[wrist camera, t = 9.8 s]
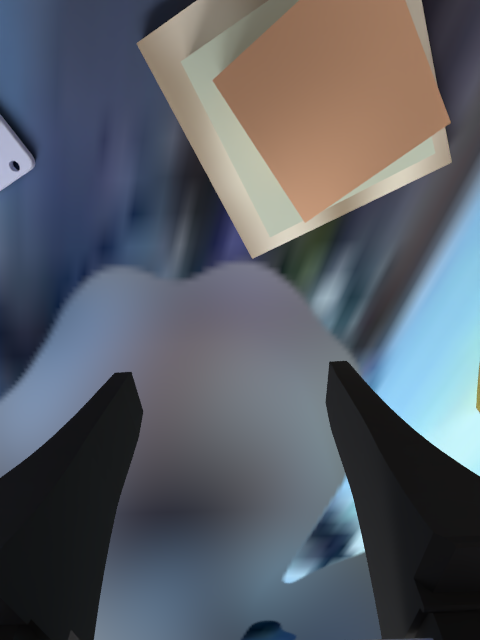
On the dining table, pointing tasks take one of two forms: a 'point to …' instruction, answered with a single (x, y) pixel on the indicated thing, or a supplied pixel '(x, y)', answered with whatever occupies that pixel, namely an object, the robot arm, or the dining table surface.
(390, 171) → the sage green slab
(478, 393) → the cereal box
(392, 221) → the dining table surface
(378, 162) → the terracotta cube
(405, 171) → the ash base slab
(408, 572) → the robot arm
